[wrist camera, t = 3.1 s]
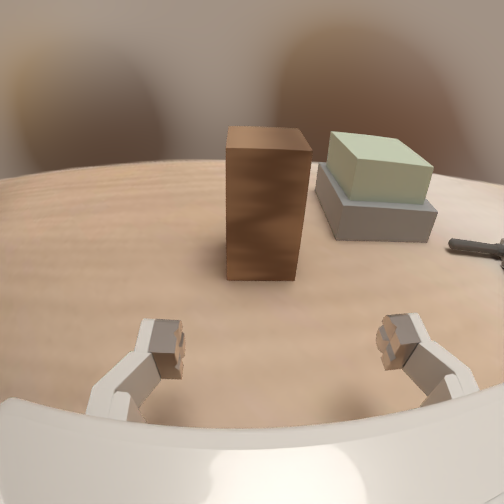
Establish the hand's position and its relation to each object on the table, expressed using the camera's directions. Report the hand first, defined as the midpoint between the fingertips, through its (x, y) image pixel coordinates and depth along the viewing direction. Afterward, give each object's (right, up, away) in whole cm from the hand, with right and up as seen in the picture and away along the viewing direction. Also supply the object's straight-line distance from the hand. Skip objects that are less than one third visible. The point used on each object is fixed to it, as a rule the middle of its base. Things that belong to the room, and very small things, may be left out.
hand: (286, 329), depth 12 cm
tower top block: (+11, +10, +18) cm, 23 cm away
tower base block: (+11, +7, +20) cm, 24 cm away
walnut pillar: (-1, +2, +13) cm, 14 cm away
